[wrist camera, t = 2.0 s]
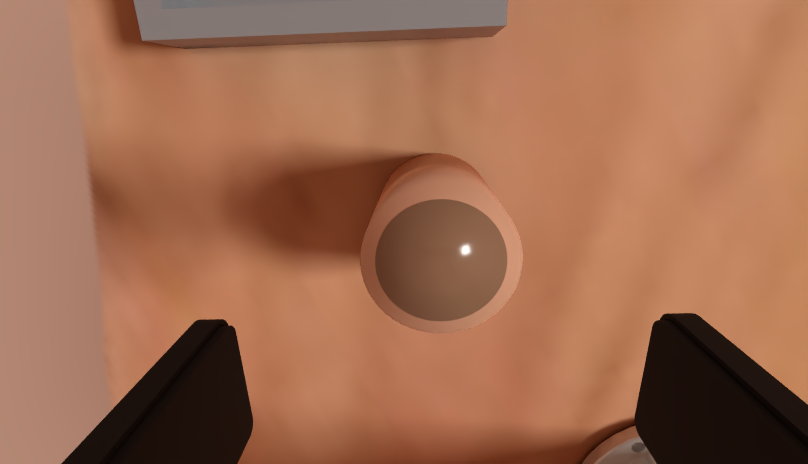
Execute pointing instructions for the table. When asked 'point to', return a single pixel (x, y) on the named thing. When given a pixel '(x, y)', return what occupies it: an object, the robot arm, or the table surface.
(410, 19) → the grey tray
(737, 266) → the table surface
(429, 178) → the terracotta cup
